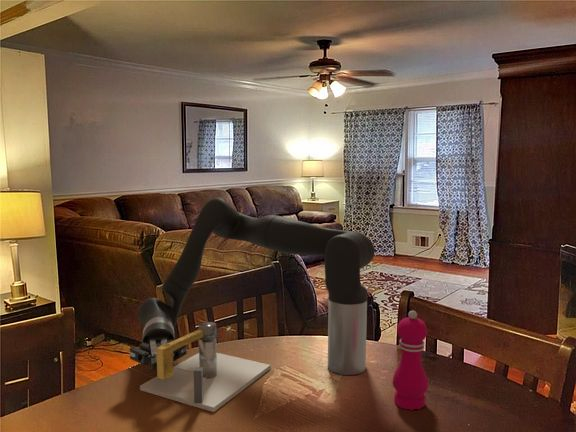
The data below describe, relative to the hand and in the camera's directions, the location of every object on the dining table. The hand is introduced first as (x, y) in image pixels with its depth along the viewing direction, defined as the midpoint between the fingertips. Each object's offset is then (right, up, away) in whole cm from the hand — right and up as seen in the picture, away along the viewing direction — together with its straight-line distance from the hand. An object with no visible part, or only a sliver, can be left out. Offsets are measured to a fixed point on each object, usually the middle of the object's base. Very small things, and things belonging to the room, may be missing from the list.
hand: (158, 367), depth 102 cm
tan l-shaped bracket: (+5, -1, +6) cm, 8 cm away
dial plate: (+8, -7, +12) cm, 16 cm away
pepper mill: (+52, -8, +2) cm, 53 cm away
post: (+8, -7, +12) cm, 16 cm away
